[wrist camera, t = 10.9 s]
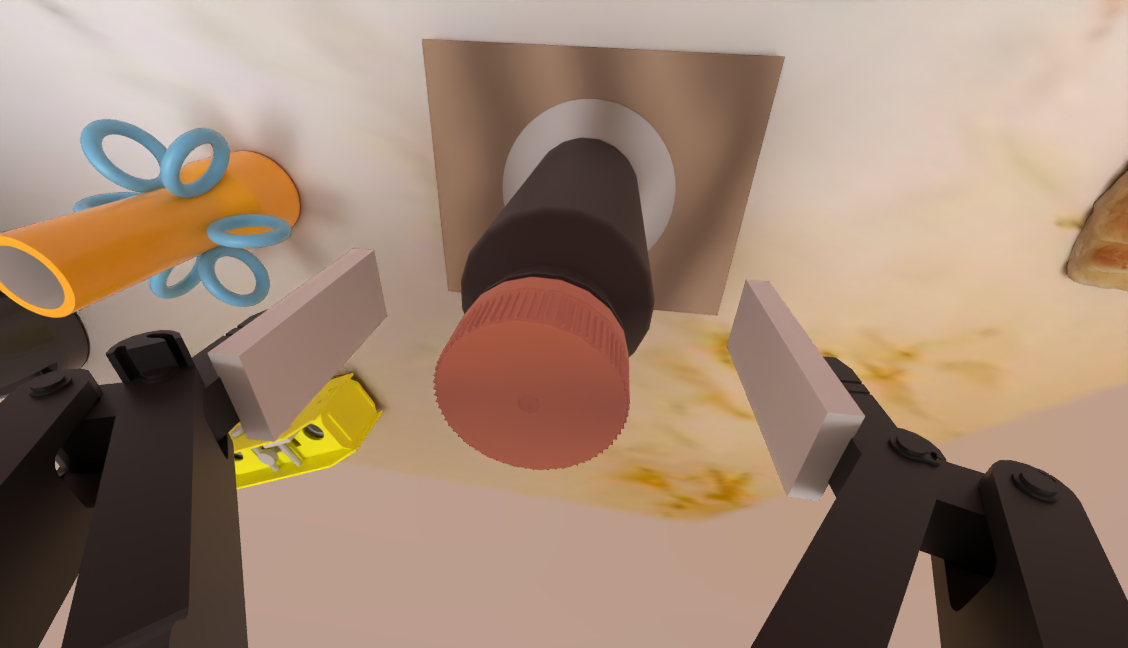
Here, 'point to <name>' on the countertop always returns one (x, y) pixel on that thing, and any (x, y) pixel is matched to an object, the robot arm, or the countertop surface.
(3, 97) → the countertop surface
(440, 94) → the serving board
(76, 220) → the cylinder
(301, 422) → the yellow toy chassis
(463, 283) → the vinegar
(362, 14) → the countertop surface
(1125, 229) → the pastry
